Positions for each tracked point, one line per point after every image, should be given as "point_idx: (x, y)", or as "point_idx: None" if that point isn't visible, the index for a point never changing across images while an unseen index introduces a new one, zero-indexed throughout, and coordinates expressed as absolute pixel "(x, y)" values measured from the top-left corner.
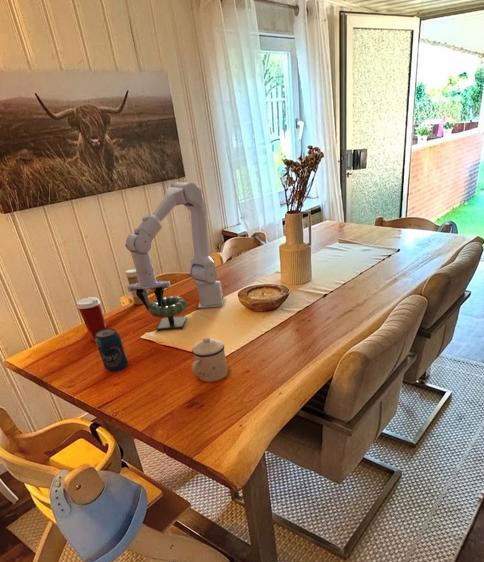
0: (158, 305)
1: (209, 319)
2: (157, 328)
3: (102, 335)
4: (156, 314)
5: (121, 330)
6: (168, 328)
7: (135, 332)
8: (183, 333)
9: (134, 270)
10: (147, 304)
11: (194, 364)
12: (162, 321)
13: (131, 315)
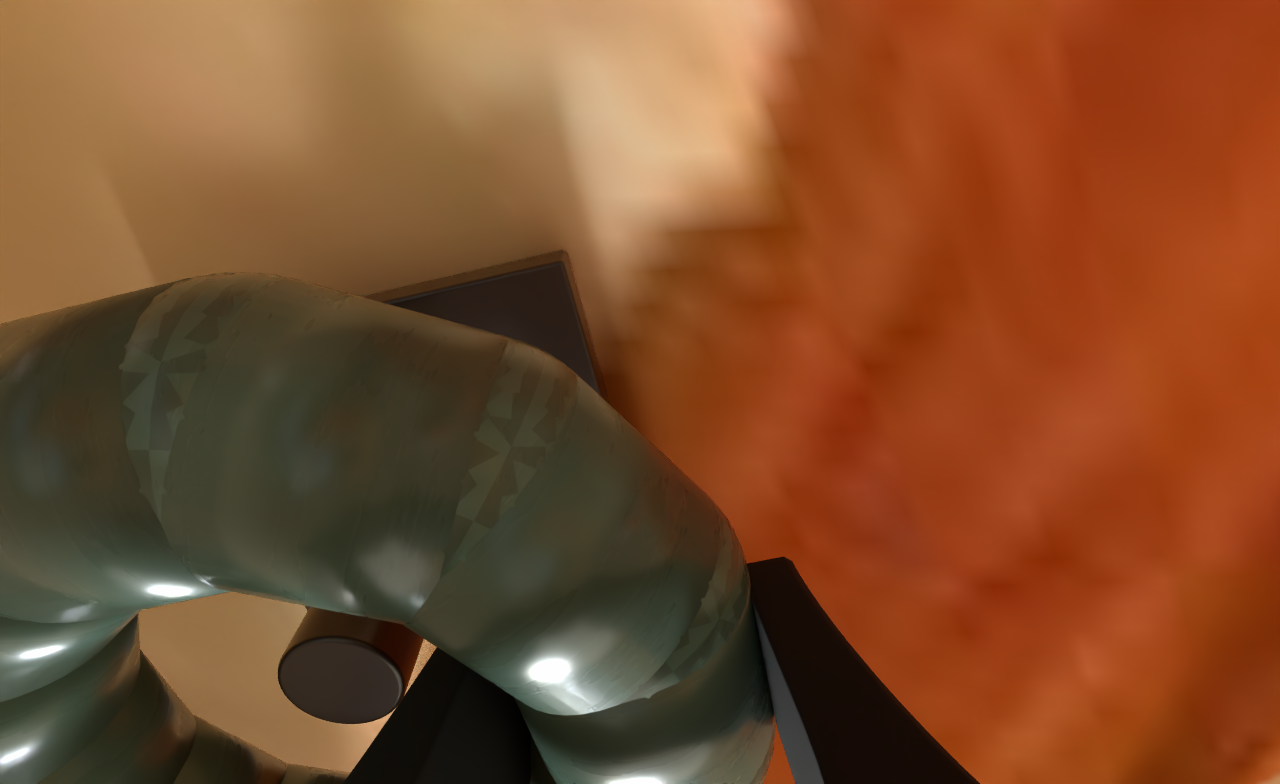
0: (456, 691)
1: None
2: (555, 264)
3: None
4: (346, 302)
5: (1220, 252)
6: (378, 301)
7: (951, 186)
8: (39, 180)
9: None
10: (786, 698)
11: None
12: None
13: (1146, 672)
